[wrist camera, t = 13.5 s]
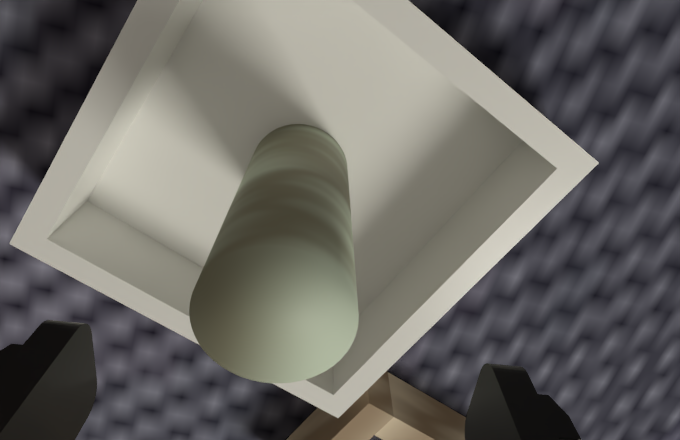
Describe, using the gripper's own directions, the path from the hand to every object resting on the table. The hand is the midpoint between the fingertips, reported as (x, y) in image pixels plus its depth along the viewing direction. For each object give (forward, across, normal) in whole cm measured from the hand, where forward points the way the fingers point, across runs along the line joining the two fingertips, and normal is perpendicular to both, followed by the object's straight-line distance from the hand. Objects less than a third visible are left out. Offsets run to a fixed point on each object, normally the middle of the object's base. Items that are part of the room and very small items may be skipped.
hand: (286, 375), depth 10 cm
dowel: (+12, 0, 0) cm, 12 cm away
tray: (+12, 0, 0) cm, 12 cm away
